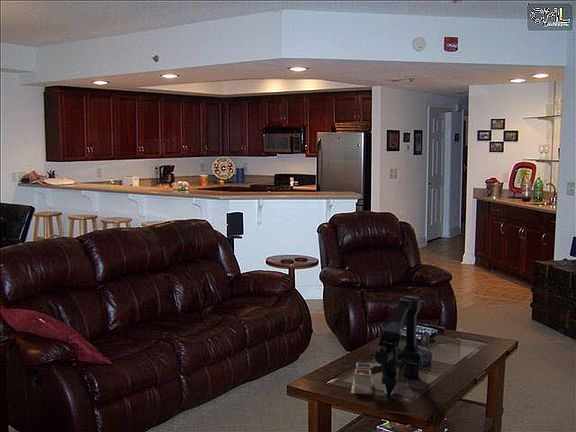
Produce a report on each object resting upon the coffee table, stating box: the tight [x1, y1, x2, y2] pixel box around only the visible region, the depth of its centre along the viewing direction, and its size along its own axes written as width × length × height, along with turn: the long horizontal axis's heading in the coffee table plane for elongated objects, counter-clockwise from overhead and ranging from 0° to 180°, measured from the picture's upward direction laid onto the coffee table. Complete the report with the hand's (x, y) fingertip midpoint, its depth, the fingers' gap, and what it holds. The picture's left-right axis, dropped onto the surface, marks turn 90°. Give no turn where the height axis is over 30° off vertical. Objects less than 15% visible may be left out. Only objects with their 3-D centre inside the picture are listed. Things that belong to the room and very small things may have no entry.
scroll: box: [375, 314, 404, 357], centre depth 337 cm, size 15×15×20 cm
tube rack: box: [350, 362, 374, 395], centre depth 289 cm, size 18×9×9 cm, turn 171°
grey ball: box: [383, 387, 394, 396], centre depth 281 cm, size 4×4×4 cm
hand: (388, 393), depth 281 cm, fingers open, 6 cm apart
